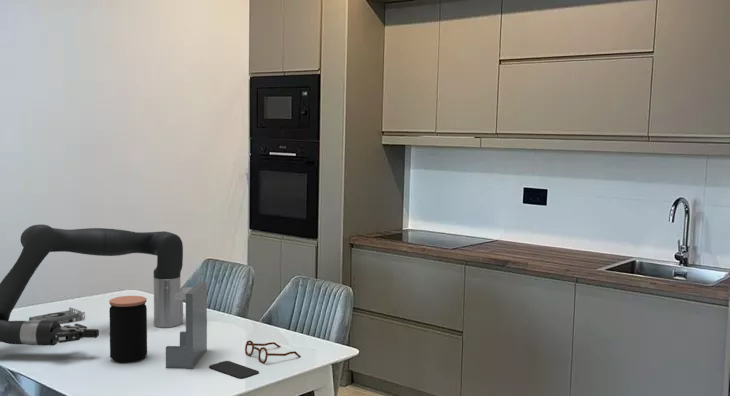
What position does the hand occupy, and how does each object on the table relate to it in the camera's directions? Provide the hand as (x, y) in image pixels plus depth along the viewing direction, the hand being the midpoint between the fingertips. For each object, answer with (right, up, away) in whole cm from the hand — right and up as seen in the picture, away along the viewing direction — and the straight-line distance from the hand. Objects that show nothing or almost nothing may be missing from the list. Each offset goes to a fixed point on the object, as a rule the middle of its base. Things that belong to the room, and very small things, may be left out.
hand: (97, 333), depth 207 cm
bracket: (+27, -8, +1) cm, 28 cm away
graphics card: (-32, -4, +42) cm, 53 cm away
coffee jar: (+9, -8, +1) cm, 12 cm away
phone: (+43, -9, -9) cm, 45 cm away
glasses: (+52, -9, +6) cm, 53 cm away
